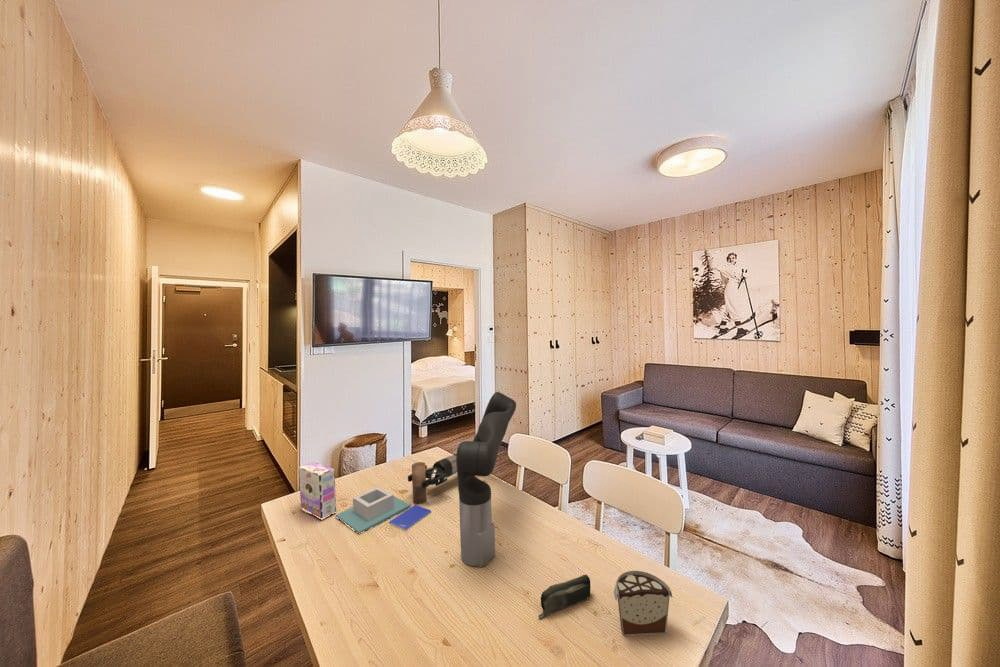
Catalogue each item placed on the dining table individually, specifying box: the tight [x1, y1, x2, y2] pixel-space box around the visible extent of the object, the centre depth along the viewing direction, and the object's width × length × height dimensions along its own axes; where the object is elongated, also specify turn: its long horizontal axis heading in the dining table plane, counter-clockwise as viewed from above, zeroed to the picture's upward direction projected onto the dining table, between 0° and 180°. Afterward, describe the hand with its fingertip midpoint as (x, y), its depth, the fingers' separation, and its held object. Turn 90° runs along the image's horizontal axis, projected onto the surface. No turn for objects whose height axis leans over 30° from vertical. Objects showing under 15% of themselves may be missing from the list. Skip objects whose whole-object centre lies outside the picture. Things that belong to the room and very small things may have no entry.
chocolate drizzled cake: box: [613, 570, 673, 637], centre depth 76 cm, size 12×6×10 cm, turn 92°
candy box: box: [298, 461, 337, 518], centre depth 123 cm, size 14×6×16 cm, turn 58°
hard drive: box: [388, 504, 432, 532], centre depth 118 cm, size 2×8×12 cm
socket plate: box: [335, 486, 412, 533], centre depth 122 cm, size 16×20×6 cm
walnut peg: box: [411, 461, 427, 505], centre depth 129 cm, size 5×5×14 cm
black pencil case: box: [538, 574, 591, 619], centre depth 81 cm, size 5×3×15 cm
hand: (415, 482), depth 128 cm, fingers open, 8 cm apart
